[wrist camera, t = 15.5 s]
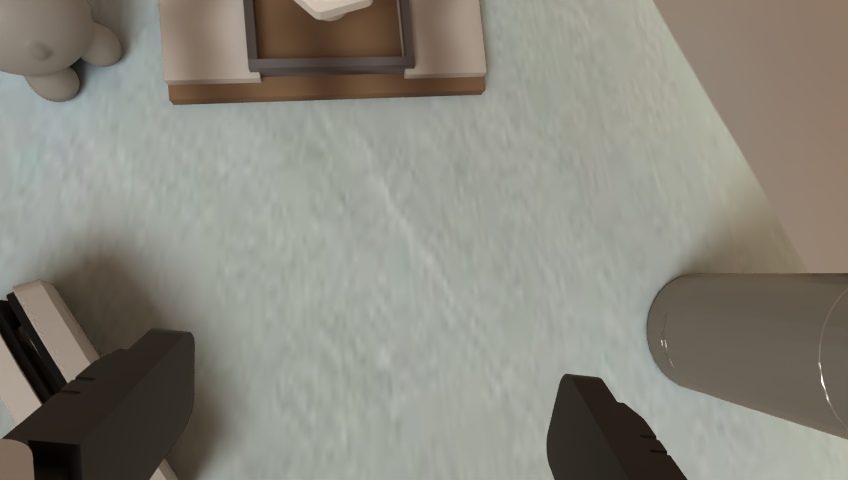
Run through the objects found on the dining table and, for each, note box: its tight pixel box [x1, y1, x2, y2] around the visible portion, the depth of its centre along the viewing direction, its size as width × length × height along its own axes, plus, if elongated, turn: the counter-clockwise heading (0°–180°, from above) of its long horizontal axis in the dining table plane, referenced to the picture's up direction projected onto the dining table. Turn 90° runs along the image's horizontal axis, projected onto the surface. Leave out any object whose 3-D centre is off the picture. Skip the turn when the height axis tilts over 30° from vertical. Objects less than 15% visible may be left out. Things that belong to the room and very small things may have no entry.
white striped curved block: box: [0, 280, 178, 480], centre depth 28 cm, size 17×5×10 cm, turn 32°
